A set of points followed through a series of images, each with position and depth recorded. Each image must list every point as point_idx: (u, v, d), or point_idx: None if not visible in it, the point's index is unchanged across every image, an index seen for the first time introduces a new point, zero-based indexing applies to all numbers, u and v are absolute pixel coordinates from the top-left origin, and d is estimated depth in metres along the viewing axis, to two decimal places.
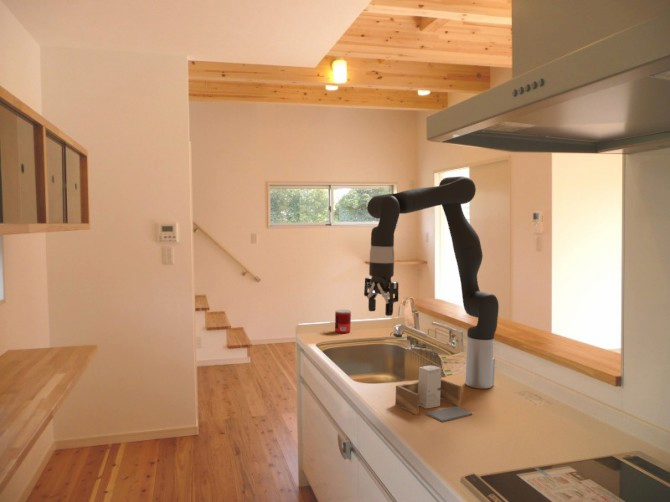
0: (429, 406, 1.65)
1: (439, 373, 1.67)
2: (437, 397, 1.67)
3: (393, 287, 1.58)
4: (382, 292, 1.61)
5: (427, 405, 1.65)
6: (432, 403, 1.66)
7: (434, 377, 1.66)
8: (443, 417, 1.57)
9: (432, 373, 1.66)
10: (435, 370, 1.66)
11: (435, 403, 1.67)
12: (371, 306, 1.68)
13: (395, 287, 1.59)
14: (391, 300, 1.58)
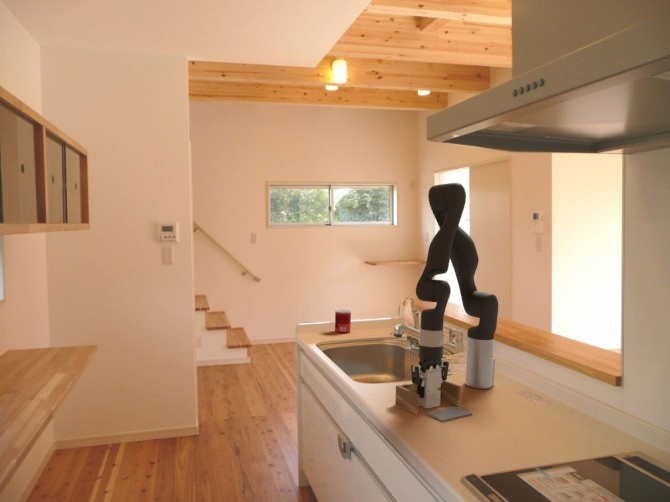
0: (430, 406, 1.65)
1: (439, 373, 1.67)
2: (437, 397, 1.67)
3: None
4: None
5: (427, 405, 1.65)
6: (432, 403, 1.66)
7: (434, 377, 1.66)
8: (443, 417, 1.57)
9: (432, 373, 1.66)
10: (435, 370, 1.66)
11: (435, 403, 1.67)
12: None
13: None
14: (446, 378, 1.70)
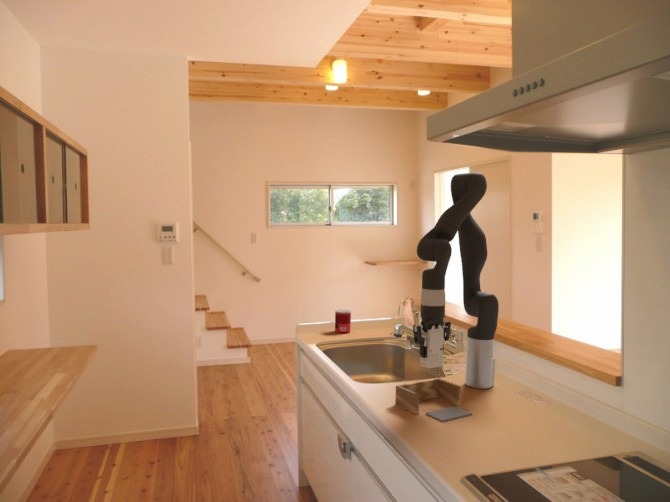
0: (432, 365, 1.65)
1: (441, 333, 1.66)
2: (440, 357, 1.66)
3: None
4: None
5: (430, 365, 1.64)
6: (435, 363, 1.65)
7: (436, 337, 1.65)
8: (443, 417, 1.57)
9: (434, 333, 1.65)
10: (437, 330, 1.65)
11: (438, 363, 1.66)
12: None
13: None
14: (448, 338, 1.69)
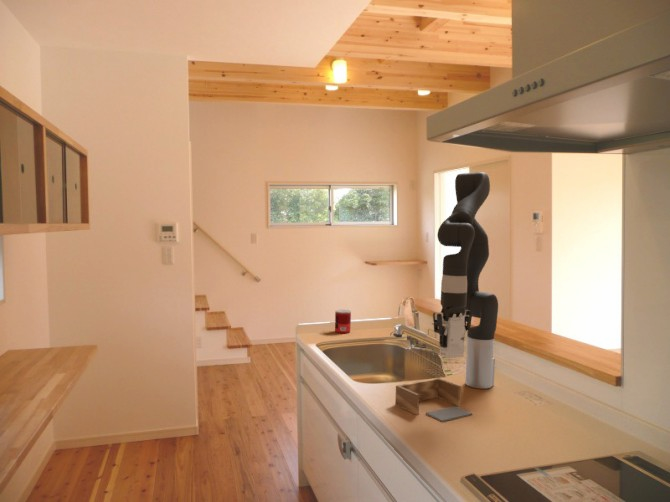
0: (453, 356, 1.57)
1: (462, 322, 1.59)
2: (460, 347, 1.58)
3: None
4: None
5: (450, 355, 1.56)
6: (456, 353, 1.57)
7: (457, 326, 1.58)
8: (443, 417, 1.57)
9: (455, 321, 1.57)
10: (458, 318, 1.58)
11: (458, 354, 1.58)
12: None
13: None
14: (469, 328, 1.61)
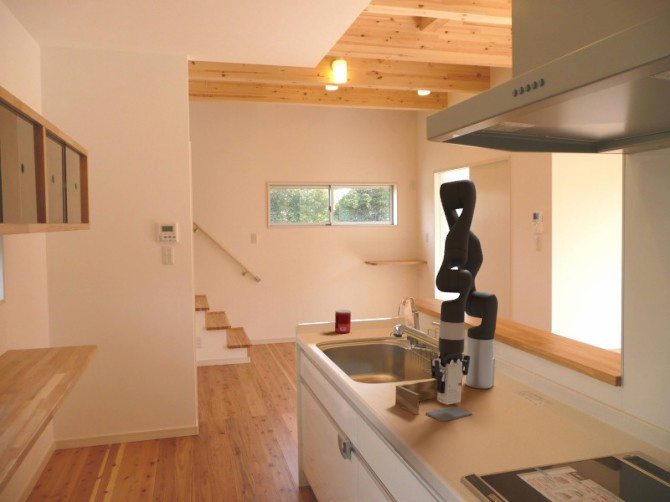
0: (450, 401, 1.58)
1: (459, 367, 1.59)
2: (458, 392, 1.59)
3: None
4: None
5: (448, 401, 1.57)
6: (453, 399, 1.58)
7: (455, 371, 1.58)
8: (443, 417, 1.57)
9: (453, 367, 1.58)
10: (456, 364, 1.58)
11: (456, 399, 1.59)
12: None
13: None
14: (466, 373, 1.62)
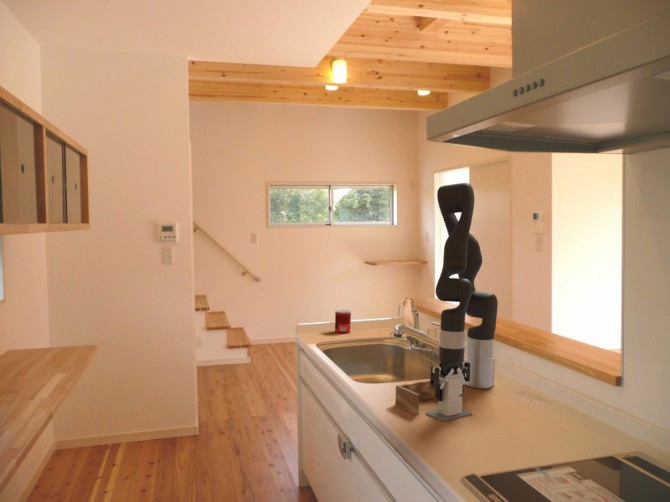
0: (451, 413, 1.58)
1: (460, 379, 1.60)
2: (459, 404, 1.60)
3: None
4: None
5: (448, 413, 1.58)
6: (454, 411, 1.59)
7: (455, 383, 1.59)
8: (443, 417, 1.57)
9: (453, 379, 1.58)
10: (456, 376, 1.59)
11: (456, 411, 1.59)
12: None
13: None
14: (469, 379, 1.63)
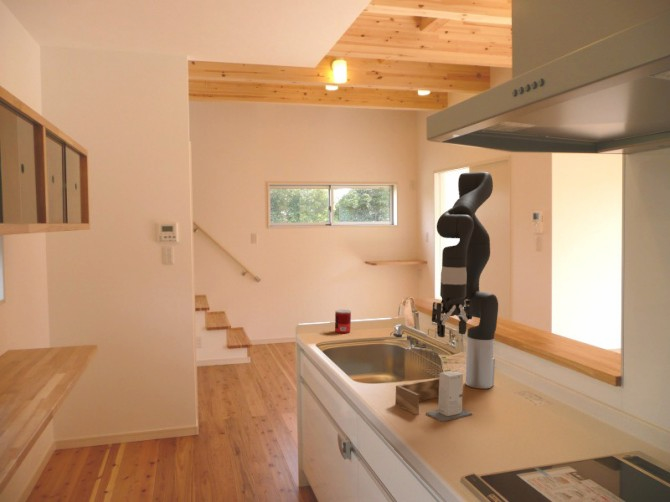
0: (451, 413, 1.58)
1: (460, 379, 1.60)
2: (459, 404, 1.60)
3: None
4: (463, 312, 1.60)
5: (448, 413, 1.58)
6: (454, 411, 1.59)
7: (456, 383, 1.59)
8: (443, 417, 1.57)
9: (453, 379, 1.58)
10: (457, 376, 1.59)
11: (456, 411, 1.59)
12: None
13: None
14: (471, 317, 1.62)
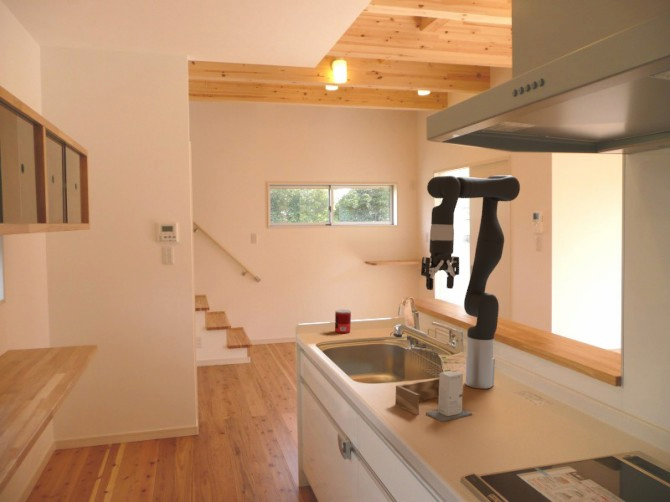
0: (451, 413, 1.58)
1: (460, 379, 1.60)
2: (459, 404, 1.60)
3: None
4: (451, 267, 1.72)
5: (448, 413, 1.58)
6: (454, 411, 1.59)
7: (456, 383, 1.59)
8: (443, 417, 1.57)
9: (453, 379, 1.58)
10: (457, 376, 1.59)
11: (456, 411, 1.59)
12: None
13: None
14: (458, 273, 1.74)
